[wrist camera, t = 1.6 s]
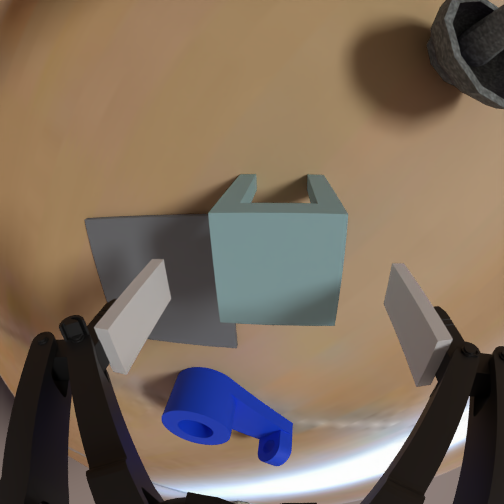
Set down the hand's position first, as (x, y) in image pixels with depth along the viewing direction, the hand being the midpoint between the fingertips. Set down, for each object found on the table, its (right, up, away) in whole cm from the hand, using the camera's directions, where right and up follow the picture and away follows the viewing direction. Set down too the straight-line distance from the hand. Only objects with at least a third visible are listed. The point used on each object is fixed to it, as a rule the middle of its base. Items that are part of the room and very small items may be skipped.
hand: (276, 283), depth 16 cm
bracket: (-3, -21, +23) cm, 31 cm away
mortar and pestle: (+18, +20, +1) cm, 27 cm away
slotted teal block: (+1, +5, +10) cm, 11 cm away
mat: (-11, -2, +15) cm, 19 cm away
